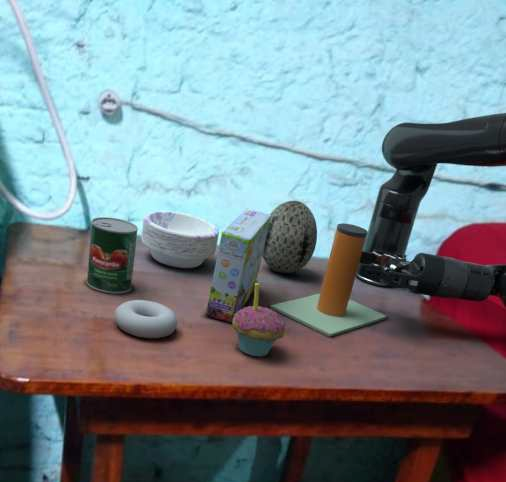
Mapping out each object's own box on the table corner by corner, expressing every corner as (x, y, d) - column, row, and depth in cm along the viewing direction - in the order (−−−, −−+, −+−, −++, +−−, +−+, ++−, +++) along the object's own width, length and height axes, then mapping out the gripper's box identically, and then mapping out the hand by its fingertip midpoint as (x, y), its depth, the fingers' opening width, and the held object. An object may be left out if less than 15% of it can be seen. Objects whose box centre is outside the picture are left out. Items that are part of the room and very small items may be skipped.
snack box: (235, 324, 128) (251, 239, 120) (203, 316, 128) (218, 230, 121) (257, 289, 146) (272, 212, 139) (229, 282, 147) (244, 205, 139)
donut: (160, 348, 114) (185, 327, 122) (163, 328, 112) (188, 308, 121) (102, 329, 116) (130, 310, 124) (103, 309, 114) (132, 291, 122)
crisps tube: (327, 303, 145) (348, 222, 137) (350, 314, 143) (373, 231, 135) (311, 307, 141) (331, 224, 133) (334, 318, 139) (357, 234, 131)
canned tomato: (126, 279, 137) (133, 219, 131) (135, 295, 131) (142, 233, 125) (83, 276, 134) (88, 215, 128) (89, 292, 128) (95, 229, 122)
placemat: (329, 293, 153) (330, 290, 153) (386, 318, 146) (387, 316, 146) (270, 308, 139) (270, 305, 138) (329, 337, 132) (330, 333, 132)
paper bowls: (211, 279, 146) (218, 239, 142) (134, 264, 144) (139, 224, 140) (214, 256, 159) (221, 219, 155) (144, 243, 157) (148, 205, 153)
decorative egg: (288, 262, 166) (304, 194, 159) (318, 281, 158) (335, 211, 151) (244, 261, 160) (258, 191, 152) (273, 282, 152) (289, 208, 144)
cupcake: (242, 362, 115) (257, 289, 109) (218, 339, 121) (231, 268, 115) (288, 360, 119) (305, 289, 113) (263, 338, 125) (278, 269, 119)
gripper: (433, 246, 144) (354, 231, 142) (456, 269, 132) (369, 254, 130) (421, 282, 148) (344, 269, 145) (442, 309, 136) (358, 295, 133)
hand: (356, 262), depth 137 cm, fingers open, 8 cm apart
